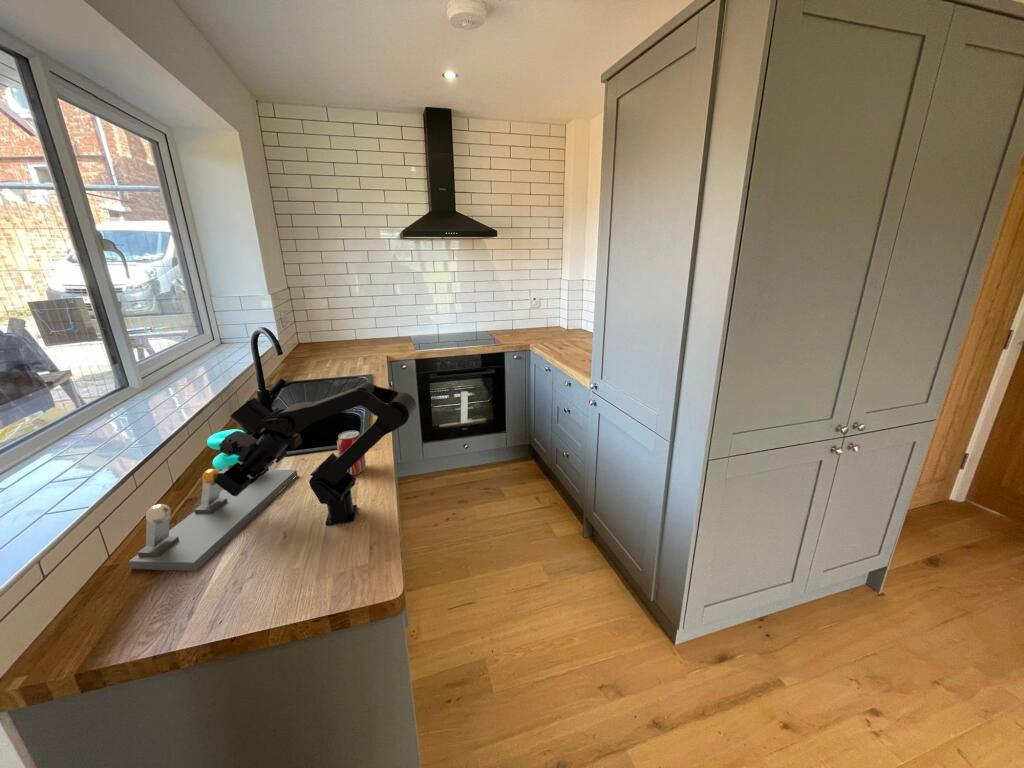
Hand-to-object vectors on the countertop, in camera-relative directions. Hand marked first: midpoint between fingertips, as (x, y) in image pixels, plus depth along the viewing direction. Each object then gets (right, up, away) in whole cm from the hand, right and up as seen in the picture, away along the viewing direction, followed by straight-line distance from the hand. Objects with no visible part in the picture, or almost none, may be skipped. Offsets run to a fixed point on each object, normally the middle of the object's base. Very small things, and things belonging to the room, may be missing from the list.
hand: (234, 486), depth 100 cm
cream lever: (-8, -9, -12) cm, 17 cm away
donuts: (-20, 0, +29) cm, 35 cm away
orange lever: (-7, -4, +2) cm, 9 cm away
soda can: (+21, -1, +23) cm, 31 cm away
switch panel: (-3, -8, +3) cm, 9 cm away
